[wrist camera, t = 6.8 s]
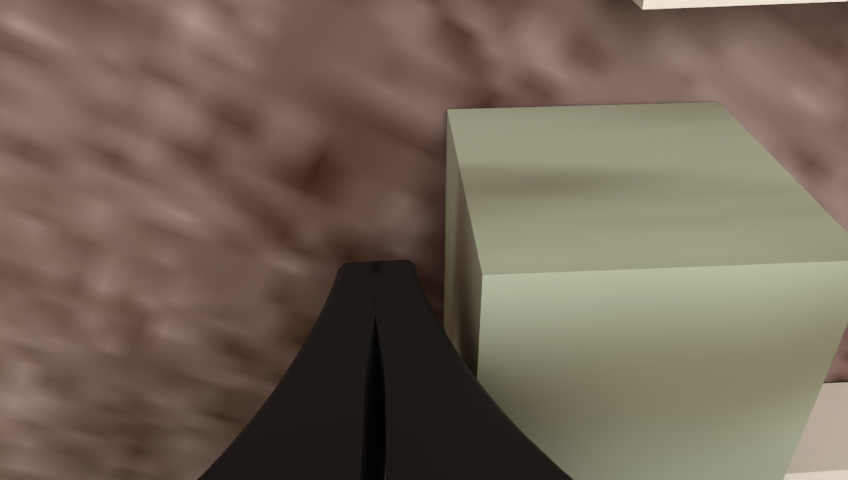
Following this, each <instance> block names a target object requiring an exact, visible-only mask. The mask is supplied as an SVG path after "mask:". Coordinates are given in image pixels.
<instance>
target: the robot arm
mask: <svg viewBox="0 0 848 480" xmlns="http://www.w3.org/2000/svg"><path fill="white" fill-rule="evenodd" d="M385 465H386V480H574V479H572V478H571V477H570V476H569V475H568V474H566V473H565V472H564V471H563V470H562V469H561V468H560V467H559V466H558V465H556V464H555V463H554V462H553V461H552V460H551V459H550V458H549V457H548V456H547V455H546V454H545V453H544V452H543V451H542V450H541V449H539V448H538V447H537V446H536V445H535V444H534V443H533V442H532V441H531V440H530V439H529V438H528V437H527V436H526V435H525V434H524V433H523V432H522V431H521V430H520V429H519V428H518V427H517V426H516V425H515V424H514V423H513V421H512V420H511V419H510V418H509V417H508V416H507V415H506V414H505V413H504V412H503V411H502V409H501V408H500V407H499V406H498V405H497V404H496V402H495V401H494V400H493V399H492V398H491V396H490V395H489V394H488V393H487V392H486V390H485V389H484V388H483V387H482V385H481V384H480V383H479V381H478V380H477V379H476V377H475V376H474V375H473V373H472V372H471V371H470V369H469V368H468V366H467V365H466V363H465V362H464V361H463V359H462V358H461V356H460V355H459V353H458V352H457V350H456V349H455V347H454V346H453V344H452V343H451V341H450V339H449V338H448V336H447V334H446V333H445V331H444V329H443V328H442V326H441V324H440V323H439V321H438V319H437V317H436V316H435V314H434V312H433V310H432V308H431V306H430V304H429V302H428V300H427V298H426V296H425V294H424V291H423V289H422V287H421V284H420V282H419V279H418V276H417V273H416V269H415V265H414V264H413V263H412V262H410V261H409V260H394V261H377V262H359V263H345V264H344V265H343V266H341V267H340V268H339V269H338V273H337V276H336V279H335V282H334V284H333V287H332V289H331V292H330V294H329V296H328V299H327V301H326V303H325V305H324V307H323V309H322V311H321V313H320V315H319V317H318V319H317V321H316V323H315V325H314V326H313V328H312V330H311V332H310V334H309V336H308V337H307V339H306V341H305V343H304V345H303V346H302V348H301V350H300V351H299V353H298V354H297V356H296V358H295V359H294V361H293V362H292V364H291V365H290V367H289V369H288V370H287V372H286V373H285V375H284V376H283V378H282V379H281V381H280V382H279V384H278V385H277V387H276V388H275V390H274V391H273V392H272V394H271V395H270V397H269V398H268V399H267V401H266V402H265V403H264V405H263V406H262V407H261V409H260V410H259V411H258V412H257V414H256V415H255V416H254V417H253V419H252V420H251V421H250V423H249V424H248V425H247V426H246V427H245V429H244V430H243V431H242V432H241V433H240V434H239V435H238V437H237V438H236V439H235V440H234V441H233V442H232V443H231V445H230V446H229V447H228V448H227V449H226V450H225V451H224V453H223V454H222V455H221V456H220V457H219V458H218V459H217V460H216V461H215V462H214V463H213V464H212V465H211V466H210V468H209V469H208V470H207V471H206V472H205V473H204V474H203V475H202V476H201V477H199V478H198V479H197V480H384V479H385Z"/></svg>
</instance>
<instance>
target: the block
mask: <svg viewBox="0 0 848 480" xmlns="http://www.w3.org/2000/svg"><path fill="white" fill-rule="evenodd" d="M847 324H848V233H847V232H846V231H845V230H844V229H843V228H842V227H841V226H840V225H839V224H838V223H837V222H836V221H835V220H834V219H833V218H832V216H831V215H830V214H829V213H828V212H827V211H826V210H825V209H824V208H823V207H822V206H821V205H820V204H819V203H818V202H817V201H816V200H815V199H814V198H813V197H812V196H811V195H810V194H809V193H808V192H807V191H806V190H805V189H804V188H803V187H802V186H801V185H800V184H799V183H798V182H797V181H796V180H795V179H794V178H793V177H792V176H791V175H790V174H789V173H788V172H787V171H786V169H785V168H784V167H783V166H782V165H781V164H780V163H779V162H778V161H777V160H776V159H775V158H774V157H773V156H772V155H771V154H770V153H769V152H768V151H767V150H766V149H765V148H764V147H763V146H762V145H761V144H760V143H759V142H758V141H757V140H756V139H755V138H754V137H753V136H752V135H751V134H750V133H749V132H748V131H747V130H746V129H745V128H744V127H743V126H742V125H741V123H740V122H739V121H738V120H737V119H736V118H735V117H734V116H733V115H732V114H731V113H730V112H729V111H728V110H727V109H726V108H725V107H724V106H723V105H722V104H721V103H720V102H698V103H662V104H626V105H589V106H553V107H517V108H481V109H447V146H446V208H445V270H444V330H445V333H446V334H447V336H448V338H449V339H450V341H451V343H452V344H453V346H454V347H455V349H456V350H457V352H458V353H459V355H460V356H461V358H462V359H463V361H464V362H465V363H466V365H467V366H468V368H469V369H470V371H471V372H472V373H473V375H474V376H475V377H476V379H477V380H478V381H479V383H480V384H481V385H482V387H483V388H484V389H485V390H486V392H487V393H488V394H489V395H490V396H491V398H492V399H493V400H494V401H495V402H496V404H497V405H498V406H499V407H500V408H501V409H502V411H503V412H504V413H505V414H506V415H507V416H508V417H509V418H510V419H511V420H512V421H513V423H514V424H515V425H516V426H517V427H518V428H519V429H520V430H521V431H522V432H523V433H524V434H525V435H526V436H527V437H528V438H529V439H530V440H531V441H532V442H533V443H534V444H535V445H536V446H537V447H538V448H539V449H541V450H542V451H543V452H544V453H545V454H546V455H547V456H548V457H549V458H550V459H551V460H552V461H553V462H554V463H555V464H556V465H558V466H559V467H560V468H561V469H562V470H563V471H564V472H565V473H566V474H568V475H569V476H570V477H571V478H572V479H574V480H783V479H784V477H785V474H786V472H787V470H788V467H789V465H790V462H791V460H792V457H793V455H794V453H795V450H796V448H797V445H798V443H799V440H800V438H801V436H802V433H803V431H804V428H805V426H806V423H807V421H808V419H809V416H810V414H811V411H812V409H813V406H814V404H815V402H816V399H817V397H818V394H819V392H820V390H821V387H822V385H823V382H824V380H825V377H826V375H827V373H828V370H829V368H830V365H831V363H832V360H833V358H834V356H835V353H836V351H837V348H838V346H839V343H840V341H841V339H842V336H843V334H844V331H845V329H846V326H847Z"/></svg>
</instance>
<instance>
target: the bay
mask: <svg viewBox="0 0 848 480" xmlns="http://www.w3.org/2000/svg"><path fill="white" fill-rule="evenodd" d="M633 1H634V2H635V3H636V4H637V5H638V6H639V7H640V8H641V9H642V10H645V9H670V8H694V7H719V6H744V5H769V4H793V3H818V2H843V1H848V0H633ZM783 480H848V382H840V383H824V384H823V385H822V387H821V390H820V392H819V394H818V397H817V399H816V402H815V404H814V406H813V409H812V411H811V414H810V416H809V419H808V421H807V423H806V426H805V428H804V431H803V433H802V436H801V438H800V440H799V443H798V445H797V448H796V450H795V453H794V455H793V457H792V460H791V462H790V465H789V467H788V470H787V472H786V474H785V477H784V479H783Z"/></svg>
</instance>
